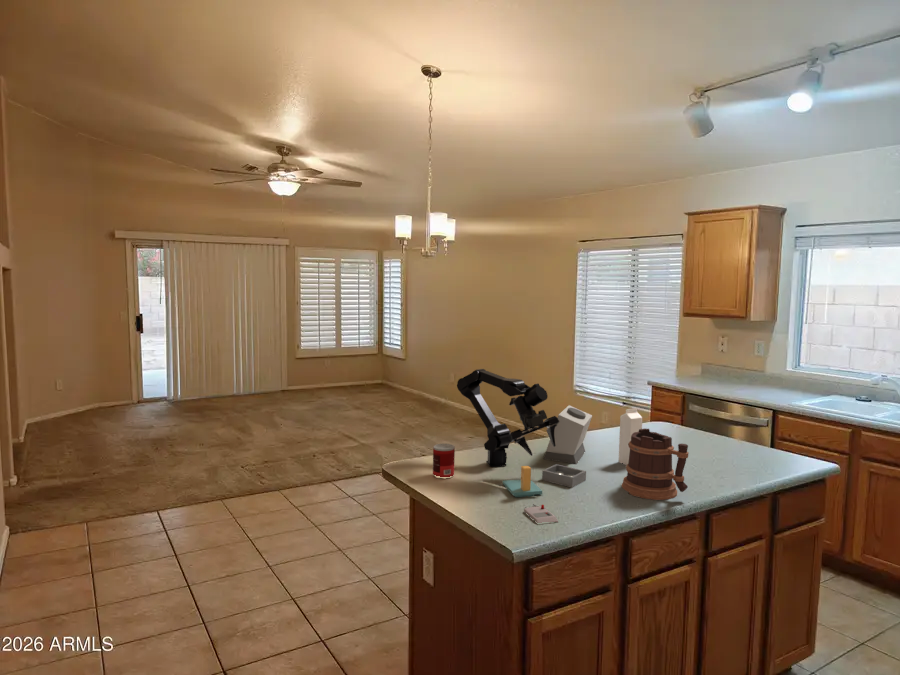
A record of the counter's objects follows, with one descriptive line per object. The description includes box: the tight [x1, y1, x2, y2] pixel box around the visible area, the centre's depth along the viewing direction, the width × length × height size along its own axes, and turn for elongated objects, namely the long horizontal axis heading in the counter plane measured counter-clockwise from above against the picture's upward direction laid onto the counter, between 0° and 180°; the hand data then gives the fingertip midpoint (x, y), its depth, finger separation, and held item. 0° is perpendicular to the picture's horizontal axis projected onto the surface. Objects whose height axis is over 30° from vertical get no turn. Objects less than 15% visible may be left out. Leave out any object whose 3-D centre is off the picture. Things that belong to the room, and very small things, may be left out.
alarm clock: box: [542, 404, 593, 465], centre depth 236 cm, size 20×16×20 cm
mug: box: [621, 428, 690, 501], centre depth 196 cm, size 18×23×20 cm
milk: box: [617, 407, 643, 466], centre depth 227 cm, size 6×6×22 cm
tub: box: [541, 463, 587, 488], centre depth 205 cm, size 12×10×4 cm
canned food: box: [432, 443, 456, 477], centre depth 209 cm, size 8×8×11 cm
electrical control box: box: [523, 503, 559, 524], centre depth 174 cm, size 7×16×3 cm, turn 18°
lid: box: [502, 465, 543, 498], centre depth 194 cm, size 12×10×10 cm
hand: (543, 451), depth 207 cm, fingers open, 9 cm apart
